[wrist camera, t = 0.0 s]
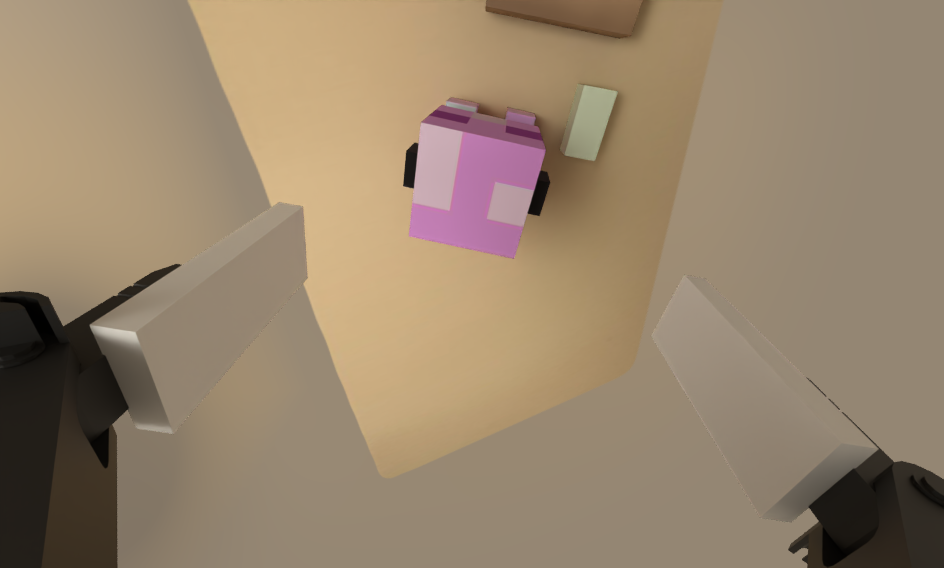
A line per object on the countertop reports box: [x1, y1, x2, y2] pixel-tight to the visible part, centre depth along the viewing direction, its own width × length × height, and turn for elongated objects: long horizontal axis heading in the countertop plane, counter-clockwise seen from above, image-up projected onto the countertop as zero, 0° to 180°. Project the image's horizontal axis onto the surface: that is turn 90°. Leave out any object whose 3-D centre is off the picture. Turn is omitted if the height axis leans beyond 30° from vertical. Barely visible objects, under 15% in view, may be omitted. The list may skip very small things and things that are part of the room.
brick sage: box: [560, 84, 618, 161], centre depth 35 cm, size 6×3×3 cm, turn 171°
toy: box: [403, 97, 550, 259], centre depth 31 cm, size 11×8×15 cm
